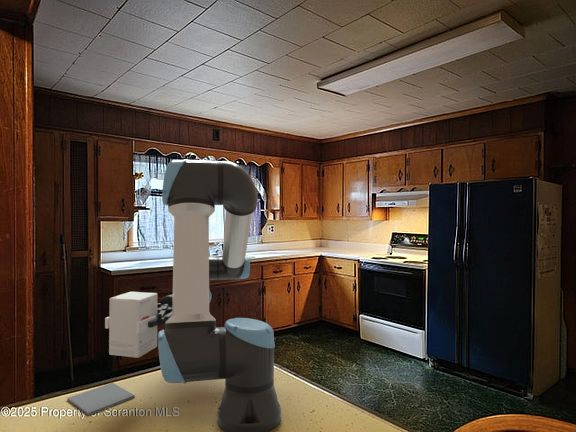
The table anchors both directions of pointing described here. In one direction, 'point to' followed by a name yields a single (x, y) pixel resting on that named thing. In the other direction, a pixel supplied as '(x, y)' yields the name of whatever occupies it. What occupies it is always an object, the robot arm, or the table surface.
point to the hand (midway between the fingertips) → (121, 325)
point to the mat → (100, 398)
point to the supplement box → (131, 324)
